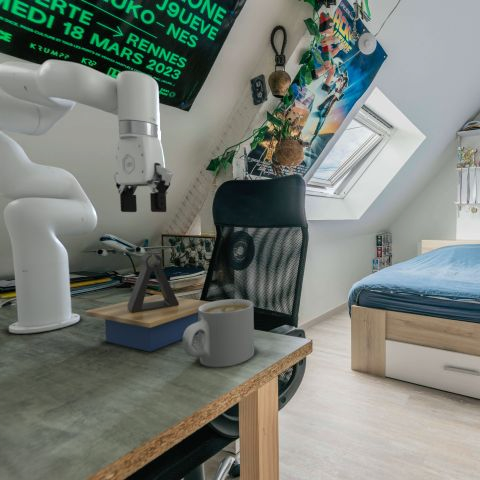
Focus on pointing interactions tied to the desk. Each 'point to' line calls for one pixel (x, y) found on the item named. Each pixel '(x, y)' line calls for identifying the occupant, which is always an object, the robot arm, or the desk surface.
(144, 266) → the phone stand
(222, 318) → the coffee mug
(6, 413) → the desk surface
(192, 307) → the oak board
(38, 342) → the desk surface
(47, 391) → the desk surface
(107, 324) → the blue box
